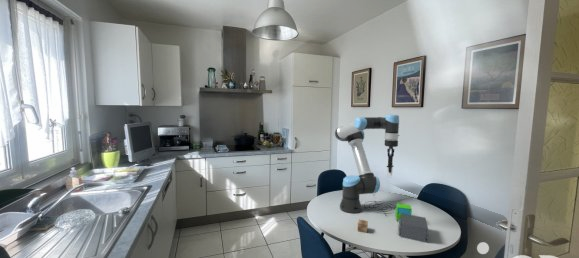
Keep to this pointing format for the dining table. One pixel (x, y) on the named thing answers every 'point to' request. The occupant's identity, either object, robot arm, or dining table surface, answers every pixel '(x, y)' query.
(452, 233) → the dining table surface
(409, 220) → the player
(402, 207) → the green and teal box
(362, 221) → the walnut block
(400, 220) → the grey drawer
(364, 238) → the dining table surface
